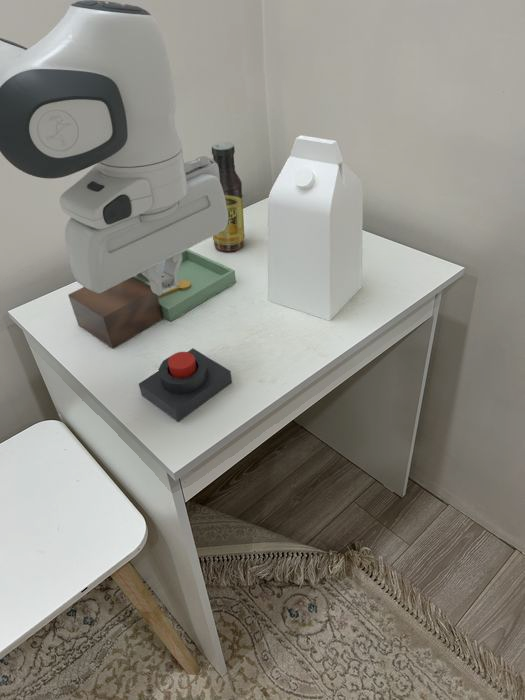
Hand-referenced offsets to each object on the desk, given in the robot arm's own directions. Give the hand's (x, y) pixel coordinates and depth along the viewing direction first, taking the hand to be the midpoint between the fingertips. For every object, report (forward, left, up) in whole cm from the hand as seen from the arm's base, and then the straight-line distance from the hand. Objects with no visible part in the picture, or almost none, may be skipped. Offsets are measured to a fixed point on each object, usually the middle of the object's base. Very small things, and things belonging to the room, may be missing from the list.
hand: (165, 289), depth 67 cm
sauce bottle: (+33, +25, -17) cm, 44 cm away
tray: (+17, +21, -17) cm, 31 cm away
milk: (+30, +1, -17) cm, 34 cm away
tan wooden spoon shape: (+15, +20, -15) cm, 29 cm away
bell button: (0, 0, -13) cm, 13 cm away
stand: (+4, +21, -17) cm, 27 cm away
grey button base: (0, 0, -17) cm, 17 cm away
